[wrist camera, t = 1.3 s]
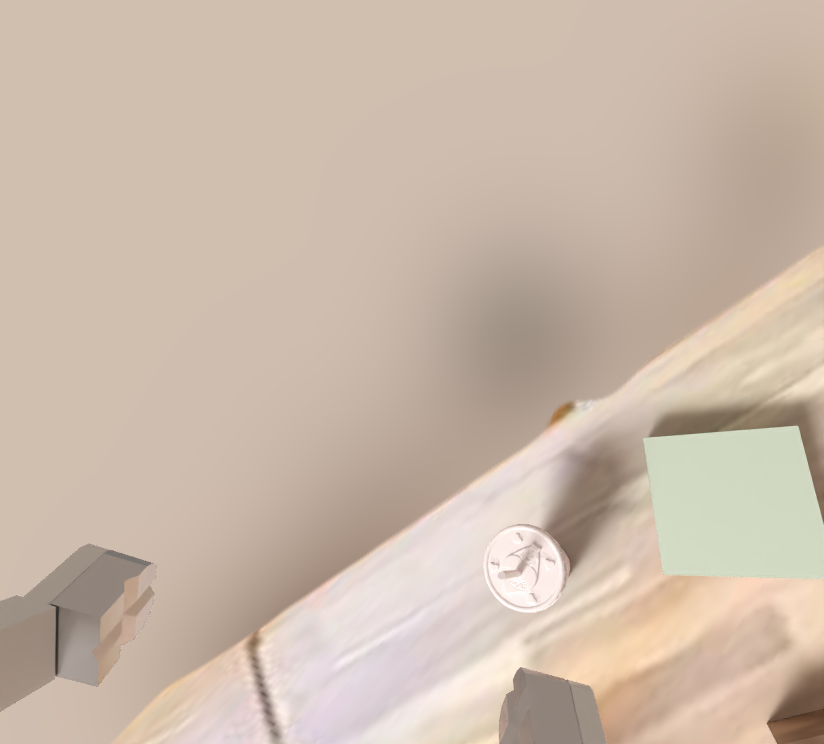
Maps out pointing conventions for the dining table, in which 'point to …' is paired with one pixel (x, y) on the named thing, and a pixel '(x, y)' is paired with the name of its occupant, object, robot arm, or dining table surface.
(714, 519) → the pedestal
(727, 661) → the dining table surface
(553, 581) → the smoothie
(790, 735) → the brick
